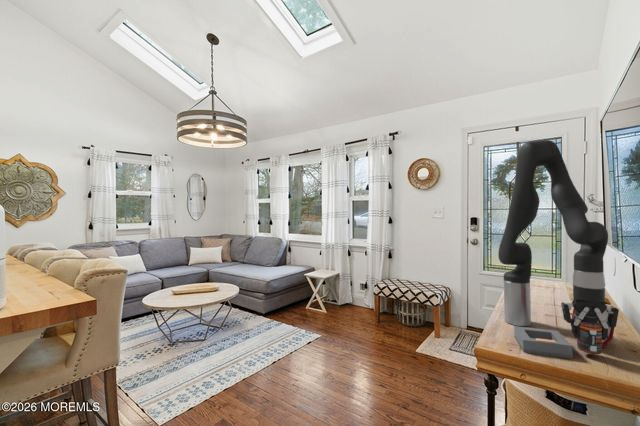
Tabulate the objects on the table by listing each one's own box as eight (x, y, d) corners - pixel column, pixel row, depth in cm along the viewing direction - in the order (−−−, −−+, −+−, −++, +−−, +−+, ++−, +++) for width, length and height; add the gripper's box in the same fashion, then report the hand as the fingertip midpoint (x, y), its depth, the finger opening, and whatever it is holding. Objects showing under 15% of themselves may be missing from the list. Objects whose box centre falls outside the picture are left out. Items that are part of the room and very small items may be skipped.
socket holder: (514, 337, 110) (514, 325, 110) (557, 342, 105) (557, 329, 106) (523, 352, 98) (523, 338, 98) (572, 358, 93) (572, 344, 93)
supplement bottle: (601, 357, 91) (600, 320, 91) (575, 350, 95) (575, 315, 95) (603, 351, 95) (602, 315, 95) (578, 345, 99) (578, 310, 99)
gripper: (611, 283, 96) (612, 336, 96) (556, 280, 101) (557, 330, 101) (625, 289, 89) (625, 346, 89) (565, 285, 94) (566, 339, 94)
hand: (589, 337), depth 95 cm, fingers closed on supplement bottle, 6 cm apart
